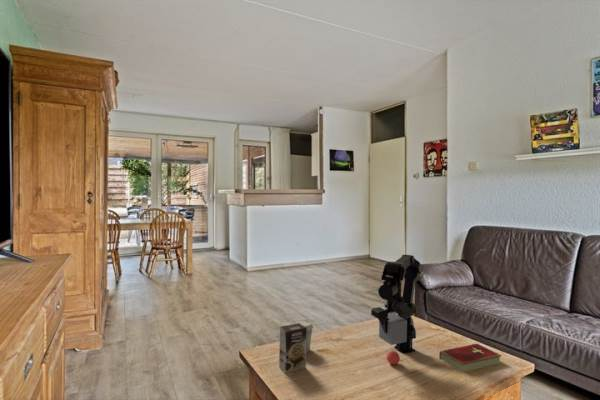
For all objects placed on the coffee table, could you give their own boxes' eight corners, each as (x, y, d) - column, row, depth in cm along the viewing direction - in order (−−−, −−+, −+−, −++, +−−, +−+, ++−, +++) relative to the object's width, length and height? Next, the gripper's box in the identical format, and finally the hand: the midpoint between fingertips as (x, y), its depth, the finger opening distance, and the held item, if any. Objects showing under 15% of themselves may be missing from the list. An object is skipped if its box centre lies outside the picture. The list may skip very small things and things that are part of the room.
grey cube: (393, 334, 141) (394, 313, 141) (406, 341, 134) (407, 320, 134) (379, 337, 138) (379, 316, 138) (391, 345, 131) (391, 322, 131)
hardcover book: (439, 359, 140) (439, 349, 140) (476, 351, 148) (476, 342, 148) (462, 374, 129) (462, 363, 129) (501, 364, 137) (501, 354, 137)
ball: (402, 355, 134) (401, 366, 134) (395, 347, 138) (393, 358, 139) (392, 356, 132) (390, 368, 133) (385, 349, 136) (383, 360, 137)
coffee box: (286, 374, 127) (286, 332, 127) (278, 366, 132) (279, 326, 132) (306, 368, 131) (307, 327, 131) (298, 361, 137) (299, 322, 137)
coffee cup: (310, 355, 142) (311, 327, 142) (291, 353, 144) (291, 325, 143) (314, 346, 150) (314, 320, 150) (295, 344, 152) (295, 318, 152)
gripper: (388, 302, 124) (388, 343, 125) (426, 296, 132) (425, 335, 132) (370, 294, 134) (370, 332, 135) (406, 289, 142) (406, 325, 142)
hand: (393, 331), depth 136 cm, fingers closed on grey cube, 8 cm apart
